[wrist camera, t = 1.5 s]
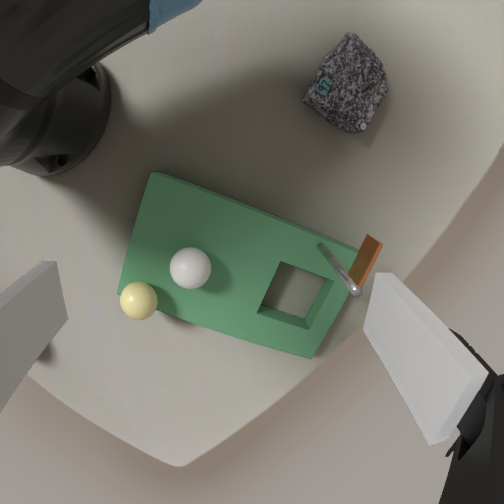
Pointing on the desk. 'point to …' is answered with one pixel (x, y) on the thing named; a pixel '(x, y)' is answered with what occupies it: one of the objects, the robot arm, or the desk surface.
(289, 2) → the desk surface
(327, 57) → the rock
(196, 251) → the ball
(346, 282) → the pin
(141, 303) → the ball
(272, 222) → the green board with hole
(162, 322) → the desk surface
